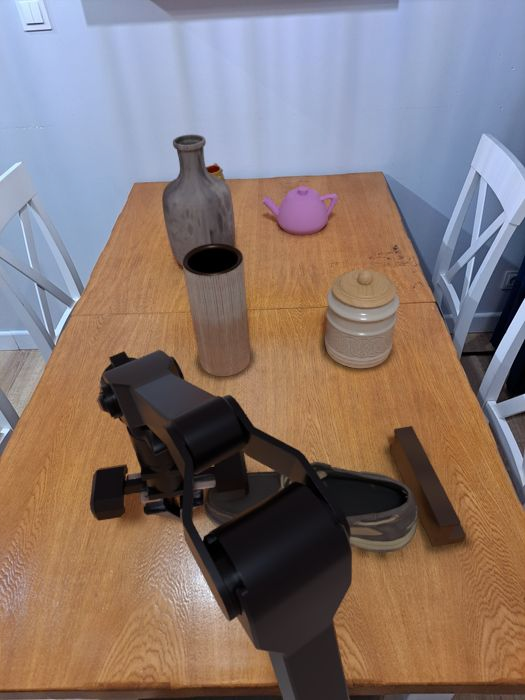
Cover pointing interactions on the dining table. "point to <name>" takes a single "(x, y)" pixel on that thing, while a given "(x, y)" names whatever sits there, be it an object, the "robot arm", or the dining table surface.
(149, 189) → the dining table surface
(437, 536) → the dark walnut bar
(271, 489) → the boat shoe
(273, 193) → the dining table surface
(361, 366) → the jar
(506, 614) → the dining table surface
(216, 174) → the mug
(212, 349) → the planter
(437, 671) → the dining table surface
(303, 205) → the teapot
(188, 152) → the vase
